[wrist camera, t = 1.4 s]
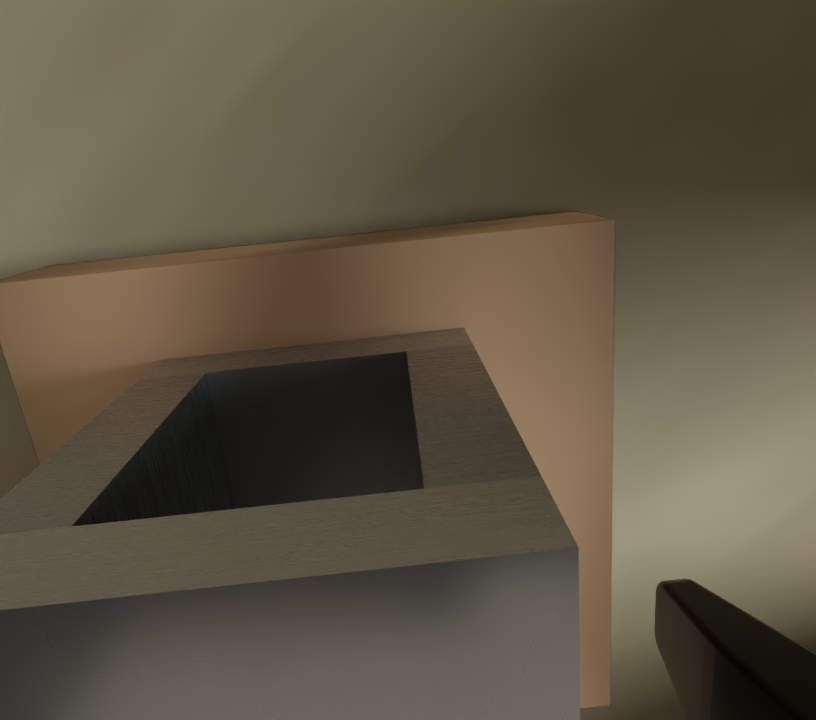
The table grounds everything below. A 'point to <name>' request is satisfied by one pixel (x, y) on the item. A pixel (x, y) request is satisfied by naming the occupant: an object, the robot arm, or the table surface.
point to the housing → (293, 548)
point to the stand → (353, 319)
